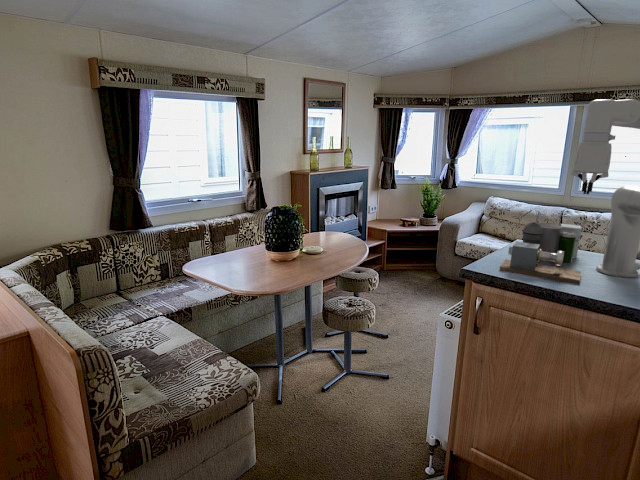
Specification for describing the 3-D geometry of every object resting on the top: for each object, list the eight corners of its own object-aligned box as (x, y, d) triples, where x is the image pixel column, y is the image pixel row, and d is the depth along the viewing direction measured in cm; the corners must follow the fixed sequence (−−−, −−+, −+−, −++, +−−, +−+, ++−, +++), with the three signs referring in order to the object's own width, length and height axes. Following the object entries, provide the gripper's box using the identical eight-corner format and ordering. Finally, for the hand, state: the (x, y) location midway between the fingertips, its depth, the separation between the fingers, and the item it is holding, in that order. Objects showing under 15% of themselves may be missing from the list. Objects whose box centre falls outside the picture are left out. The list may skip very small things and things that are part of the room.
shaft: (562, 263, 147) (564, 249, 146) (561, 267, 143) (563, 253, 142) (509, 255, 156) (511, 242, 155) (506, 258, 152) (508, 245, 151)
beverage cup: (521, 257, 169) (528, 209, 164) (540, 260, 164) (548, 211, 159) (516, 261, 163) (523, 211, 158) (536, 265, 159) (544, 213, 154)
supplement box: (556, 255, 172) (561, 226, 169) (555, 251, 178) (560, 223, 175) (576, 258, 168) (582, 228, 165) (575, 254, 175) (580, 225, 172)
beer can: (566, 265, 158) (572, 235, 155) (552, 262, 163) (557, 232, 160) (574, 263, 161) (579, 233, 158) (559, 260, 166) (564, 231, 163)
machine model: (580, 275, 148) (585, 249, 145) (579, 284, 138) (584, 257, 136) (505, 262, 161) (508, 239, 159) (499, 270, 151) (502, 245, 149)
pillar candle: (529, 253, 174) (534, 218, 171) (556, 256, 170) (562, 221, 166) (530, 259, 166) (535, 223, 162) (557, 263, 162) (563, 225, 158)
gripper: (622, 139, 136) (612, 194, 141) (570, 138, 144) (562, 190, 149) (624, 139, 130) (612, 197, 134) (569, 138, 138) (560, 193, 142)
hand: (586, 193), depth 141 cm, fingers closed
